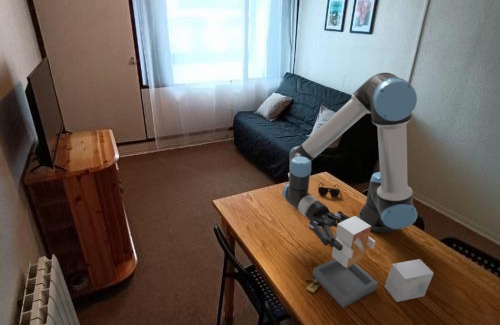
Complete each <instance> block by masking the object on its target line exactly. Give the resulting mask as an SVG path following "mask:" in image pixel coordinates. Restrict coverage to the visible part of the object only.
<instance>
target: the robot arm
mask: <svg viewBox="0 0 500 325" xmlns="http://www.w3.org/2000/svg"><path fill="white" fill-rule="evenodd" d="M417 102H418V98H417V92H416V90H415V88H414V87H413V86H412V85H411V83H410V82H408V81H407V80H405V79H403V78H400V77H399V76H397V75H395V74H393V73H390V72H380V73H376V74H375V75H374V74H373V75H372V76H371V77H370V78H368V79H367V80H366V81H365V82H364V83H363V84H361V85H360V86H359V87H358V88H357V89H356V90H355V91H354V92H353V93H352V94H351V98H350V99H349V100H348V101H347V102H346V103H345V104H344V105H343V106H342V107H341V108H339V109H338V110H337V111H336V112H335V113H334V114H333V115H332V116H330V118H328V119H327V120H326V121H325V122H324V123H323V124H322V125H321V126H320V127H319V128H318V129H317V130H316V131H314V132H313V133H312V135H310V136H309V137H308V138H307V139H306V140H305V141H303V142H302V144H300V145H299V146H294V147H292V149H291V150H290V152H289V155H288V157H289V172H290V173H289V172H288V173H289V176H288V183H287V184H285V185H284V187H283V189H282V192H281V194H282V197H283V199H285V200H286V202H287V203H288V204H290V205H291V206H292V207H293V208H294V209H295V210H297V211H298V212H299V213H300V214H301V215H303V216H304V217H305V218H306V219H307V220H308V221H309V225H308V229H309V230H310V231H312V232H314V234H315V235H316V237H317V238H318V240H320V242H321V243H322V244H323V245H324V247H327V246H329V247H330V248H333V247H335V248H336V249H337V250H339V251H342V252H343V253H344V254H345V255H346V256H347V257H348V258H350V259H351V258H352V255H353V250H352V249H351V248H349V247H348V246H347V245H346V244H345V243H343V242H342V241H341V240H340V239H339V238H336V239H335V236H334V233H333V231H332V229H331V227H333V228H336V229H337V225H338V223H340V222H343V221H344V220H346V219H349V218H351V217H350V216H348V215H346V214H344V213H343V212H342V211H341V210H338V211H337V213H334V212H331V211H330V210H329V208H328V206H327V205H325V204H324V203H322V202H321V201H320V200H318V199H317V198H316V197H315V196H313V195H312V194H310V193H309V188H310V179H311V177H310V176H311V172H312V161H314V160H315V158H317V157H318V155H320V154H321V153H322V152H324V151H325V149H328V147H330V145H331V144H333V143H334V142H335V141H336V140H337V139H338V138H340V136H342V135H343V134H344V133H345V132H346V131H347V130H349V129H350V128H351V127H352V126H353V125H355V123H357V122H358V121H359V120H360V119H361V118H362V117H364V116H365V115H366V114H371V122H372V124H373V125H374V126H376V127H377V141H378V142H377V143H378V144H377V145H378V156H379V157H378V159H379V171H378V172H374V173H373V174H372V175H371V178H370V181H369V186H368V191H367V197H366V200H365V201H366V202H365V204H364V205H363V206H362V208H361V209H360V211H359V212H358V216H357V217H358V218H359V219H361V220H363V221H364V222H366V223H367V224H369V225H370V226H371V229H370V231H372V232H375V233H381V234H388V233H391V232H393V231H395V230H402V229H406V228H409V227H410V226H411V225H414V223H415V222H416V221H417V219H418V212H417V209H416V207H415V206H414V202H413V201H414V200H413V198H414V197H413V192H414V191H413V189H412V187H411V186H409V185H408V184H409V182H408V142H407V141H408V140H407V135H408V134H407V133H408V132H407V124H408V123H410V121H412V117H413V116H412V115H413V114H412V112H413V111H414V110H415V109H416V106H417ZM375 245H376V240H374V238H372V237H370V236H369V237H368V241H367V245H366V246H368V247H369V248H370V249H371V250H372V249H373V250H374V248H375Z"/></svg>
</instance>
